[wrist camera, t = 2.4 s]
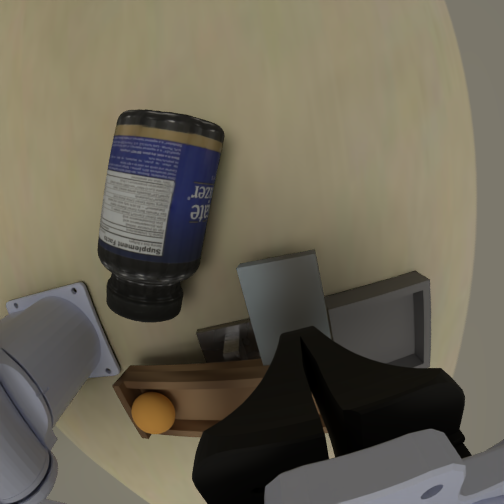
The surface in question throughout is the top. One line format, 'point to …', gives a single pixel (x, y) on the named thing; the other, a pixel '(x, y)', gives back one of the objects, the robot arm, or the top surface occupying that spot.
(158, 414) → the ball
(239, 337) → the fulcrum
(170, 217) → the pill bottle
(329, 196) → the top surface
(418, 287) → the tray
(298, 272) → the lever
